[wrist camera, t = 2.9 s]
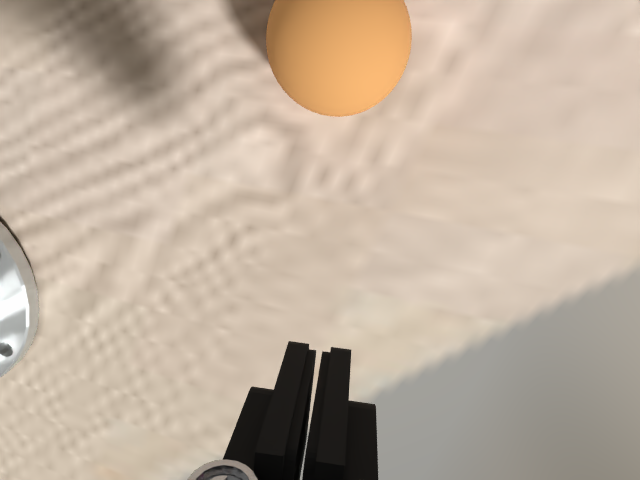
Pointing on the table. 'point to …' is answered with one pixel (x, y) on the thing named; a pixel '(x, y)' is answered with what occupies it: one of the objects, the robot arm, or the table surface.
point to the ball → (338, 51)
